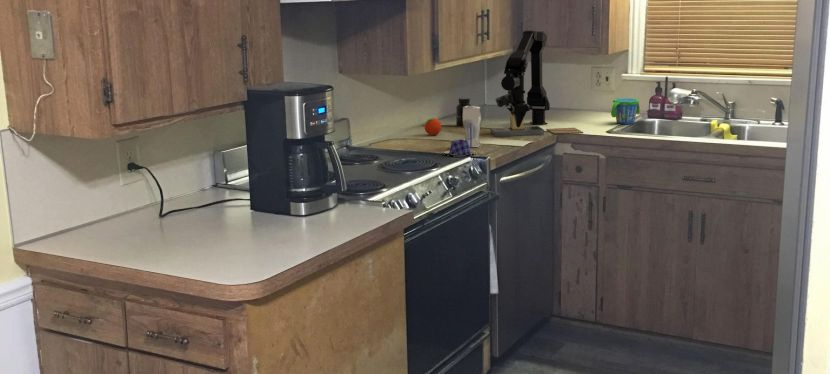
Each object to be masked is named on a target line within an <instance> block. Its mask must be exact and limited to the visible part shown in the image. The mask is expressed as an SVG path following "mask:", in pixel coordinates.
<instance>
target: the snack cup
mask: <svg viewBox="0 0 830 374" xmlns="http://www.w3.org/2000/svg"><path fill="white" fill-rule="evenodd" d="M612 103H613V104H612V106H611V111H610V115H611V117H612V118H615V120H616V121H615V122H616V123H617V124H619V125H633V124H634V123H635V122H636V121H635V120H636V118H637V117H636V115H638V114H640V112H641V109H640V107H641V106H640V101H639V99H638V98H632V97H631V98H629V97H621V98H615V99H613V100H612Z"/></svg>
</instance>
